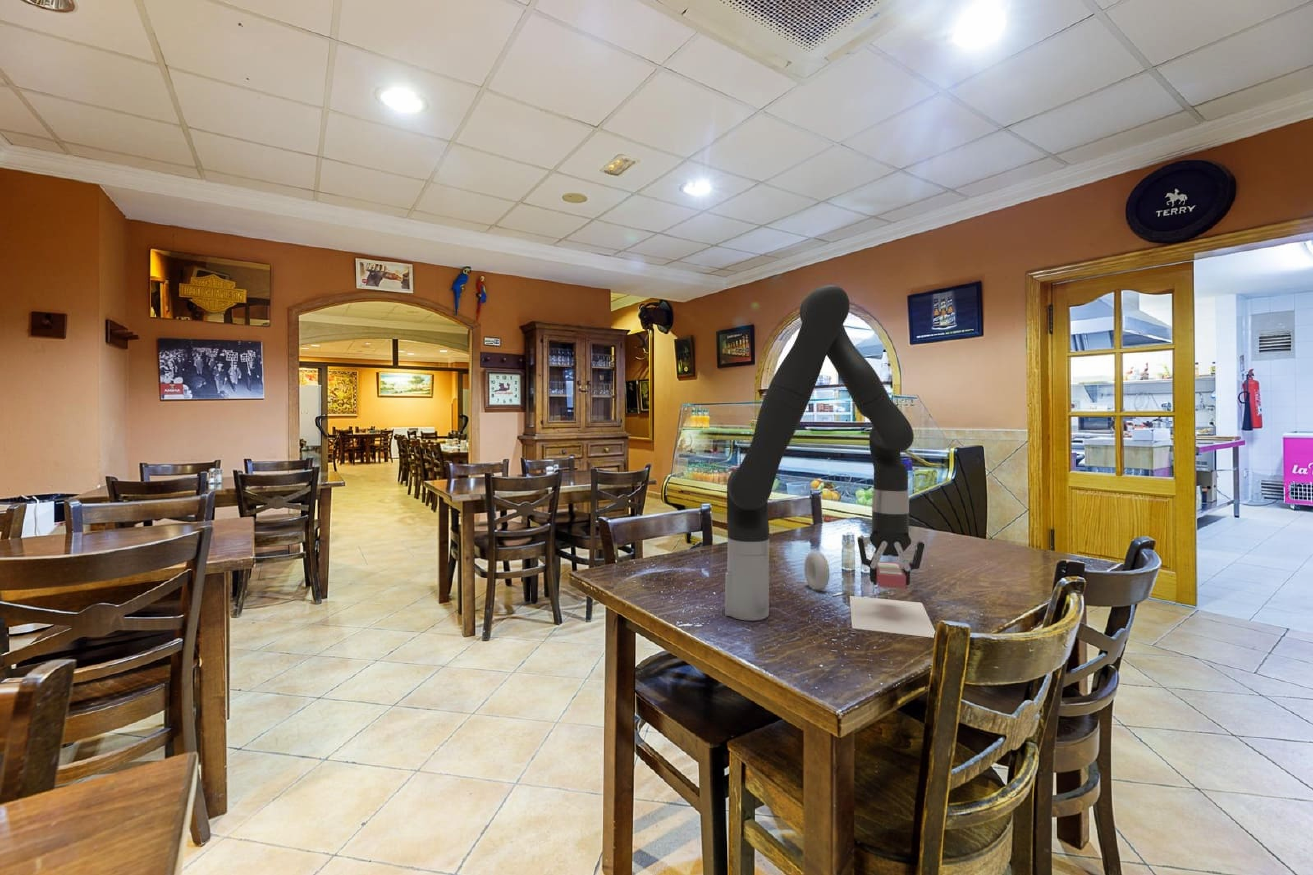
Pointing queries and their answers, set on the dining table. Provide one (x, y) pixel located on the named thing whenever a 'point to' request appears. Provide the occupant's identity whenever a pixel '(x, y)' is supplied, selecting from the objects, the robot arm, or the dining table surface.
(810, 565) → the donut
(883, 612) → the mat
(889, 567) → the card case
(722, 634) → the dining table surface
